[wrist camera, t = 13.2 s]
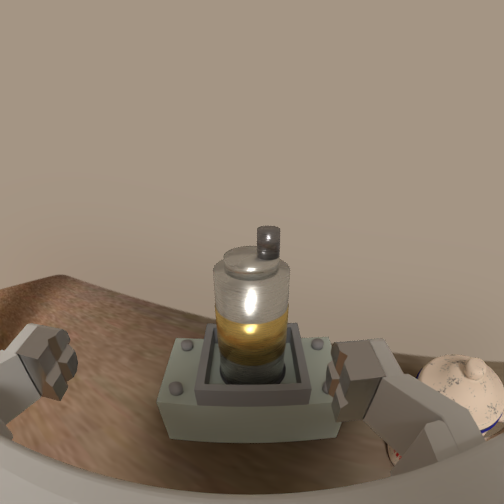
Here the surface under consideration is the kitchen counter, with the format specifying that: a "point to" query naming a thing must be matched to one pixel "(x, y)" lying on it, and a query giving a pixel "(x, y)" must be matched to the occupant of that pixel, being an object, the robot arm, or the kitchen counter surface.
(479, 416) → the teacup with lid
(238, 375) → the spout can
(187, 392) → the block
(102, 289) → the kitchen counter surface
